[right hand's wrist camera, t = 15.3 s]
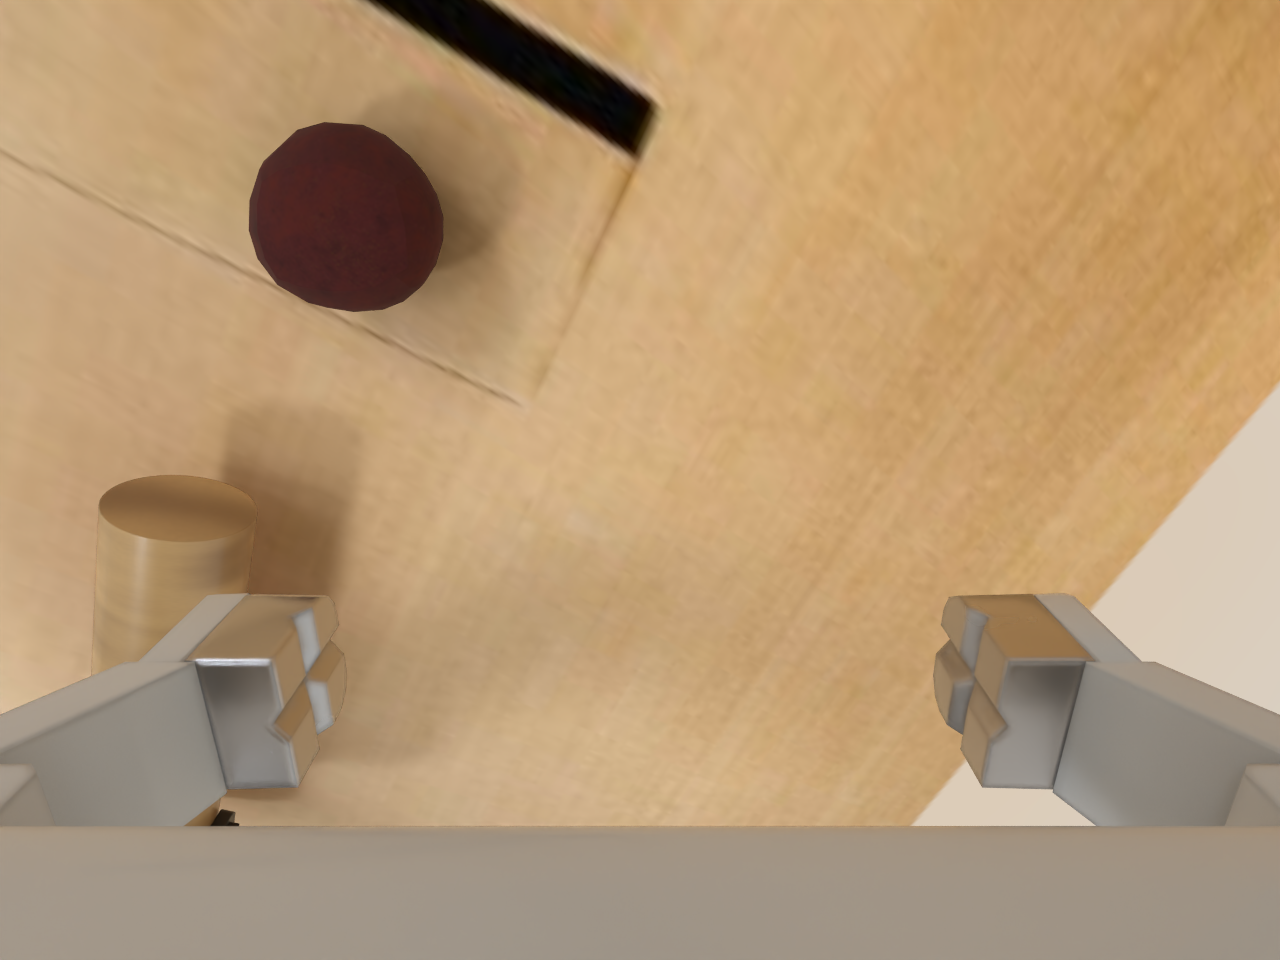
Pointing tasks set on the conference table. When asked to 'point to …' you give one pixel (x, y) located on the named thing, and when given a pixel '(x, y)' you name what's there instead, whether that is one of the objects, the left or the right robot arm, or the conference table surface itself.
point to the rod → (165, 563)
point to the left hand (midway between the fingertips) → (165, 808)
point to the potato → (345, 218)
